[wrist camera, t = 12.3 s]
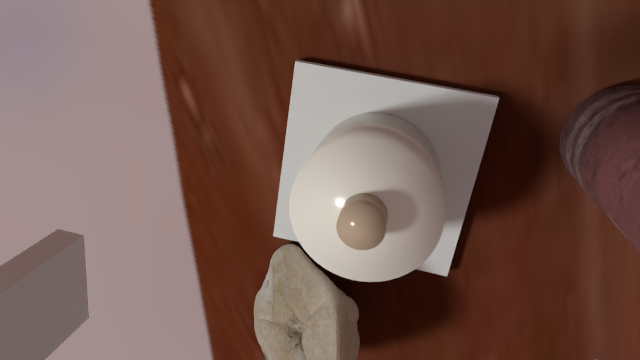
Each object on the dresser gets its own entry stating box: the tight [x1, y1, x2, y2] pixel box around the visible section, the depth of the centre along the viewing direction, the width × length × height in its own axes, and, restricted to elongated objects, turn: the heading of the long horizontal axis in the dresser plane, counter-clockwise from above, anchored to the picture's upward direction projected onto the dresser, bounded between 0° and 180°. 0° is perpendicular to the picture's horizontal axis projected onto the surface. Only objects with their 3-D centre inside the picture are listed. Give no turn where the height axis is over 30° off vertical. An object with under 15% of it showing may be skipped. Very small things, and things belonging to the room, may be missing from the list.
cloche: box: [289, 113, 445, 282], centre depth 26 cm, size 8×8×8 cm
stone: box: [254, 244, 360, 360], centre depth 32 cm, size 10×7×10 cm
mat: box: [273, 60, 499, 276], centre depth 30 cm, size 12×12×1 cm
